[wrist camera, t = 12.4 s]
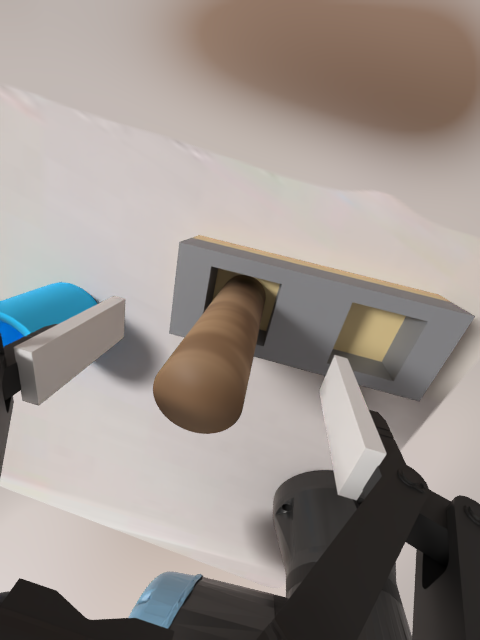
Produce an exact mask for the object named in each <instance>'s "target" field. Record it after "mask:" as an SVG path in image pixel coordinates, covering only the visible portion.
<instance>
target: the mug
mask: <svg viewBox="0 0 480 640" xmlns="http://www.w3.org/2000/svg"><path fill="white" fill-rule="evenodd" d="M95 305H97V302H96V301H95V300H94V299H93V297H92V296H91V295H89V294H88V293H87V292H86V291H84V290H83V289H82V288H80V287H78V286H75V285H73V284H70V283H63V282H59V283H54V284H50V285H47V286H44V287H41V288H38V289H35V290H32V291H29V292H26V293H23V294H20V295H17V296H15V297H12V298H9V299H6V300H3V301H0V333H1V337H2V342H3V347H4V346H6V345H8V344H10V343H12V342H14V341H16V340H18V339H20V338H22V337H24V336H27V335H28V334H30V333H32V332H35V331H36V330H38V329H41V328H43V327H45V326H49V325H53V324H60V323H62V322H64V321H66V320H68V319H69V318H71V317H73V316H75V315H77V314H79V313H81V312H83V311H85V310H87V309H89V308H91V307H93V306H95Z"/></svg>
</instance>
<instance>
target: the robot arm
mask: <svg viewBox="0 0 480 640" xmlns="http://www.w3.org/2000/svg"><path fill="white" fill-rule="evenodd" d="M124 323H125V299H124V298H120V297H116V296H112V297H110V298H109V299H107V300H105V301H103V302H101V303H99V304H97V305H95V306H93V307H91V308H89V309H87V310H85V311H83V312H81V313H79V314H77V315H75V316H73V317H71V318H69V319H68V320H66V321H64V322H62V323H60V324H53V325H49V326H45V327H43V328H41V329H38V330H36V331H35V332H32V333H30V334H28V335H27V336H24V337H22V338H20V339H18V340H16V341H14V342H12V343H10V344H8V345H6V346H4V347H3V342H2V337H1V333H0V476H1V471H2V465H3V459H4V454H5V448H6V443H7V437H8V431H9V426H10V420H11V414H12V409H13V403H14V401H13V395H14V394H16V393H17V392H19V391H20V390H21V394H22V400H23V401H25V402H29V403H32V404H35V405H40V404H41V403H43V402H44V401H45V400H46V399H48V398H49V397H50V396H51V395H53V394H54V393H55V392H56V391H58V390H59V389H60V388H61V387H63V386H64V385H65V384H66V383H68V382H69V381H70V380H71V379H73V378H74V377H75V376H76V375H78V374H79V373H80V372H81V371H83V370H84V369H85V368H86V367H88V366H89V365H90V364H91V363H93V362H94V361H95V360H96V359H98V358H99V357H100V356H101V355H103V354H104V353H105V352H106V351H108V350H109V349H110V348H111V347H113V346H114V345H115V344H116V343H118V342H119V341H120V340H121V339H123V338H124ZM319 394H320V399H321V405H322V410H323V416H324V421H325V427H326V432H327V438H328V443H329V449H330V454H331V460H332V465H333V471H313V472H307V473H303V474H300V475H297V476H294V477H292V478H290V479H289V480H287V481H286V482H284V483H283V484H282V485H281V486H280V487H279V488H278V490H277V491H276V493H275V496H274V501H273V522H274V527H275V531H276V535H277V539H278V543H279V547H280V551H281V555H282V559H283V563H284V567H285V572H286V597H282V596H278V595H274V594H271V593H266V592H262V591H258V590H254V589H250V588H246V587H242V586H238V585H234V584H229V583H225V582H221V581H217V580H213V579H208V578H205V577H203V575H201V574H197V575H196V576H193V575H188V574H183V573H177V572H165V573H162V574H160V575H159V576H157V577H156V578H155V579H154V580H153V581H152V582H151V583H150V584H149V585H148V587H147V588H146V589H145V591H144V592H143V593H142V595H141V597H140V598H139V600H138V601H137V603H136V605H135V607H134V608H133V610H132V612H131V614H130V616H129V618H121V619H102V620H89V619H87V618H85V617H84V616H83V615H82V614H81V613H80V612H78V611H77V609H75V608H74V607H73V606H72V605H71V604H70V603H69V602H68V601H67V600H66V599H65V598H64V597H63V596H62V595H61V594H59V593H58V592H57V591H56V590H53V589H50V588H47V587H44V586H41V585H38V584H35V583H32V582H29V581H26V580H23V579H19V580H18V581H17V582H16V584H15V585H14V587H13V588H12V589H11V591H10V592H3V593H0V640H480V504H479V503H477V502H476V501H474V500H472V499H470V498H468V497H465V496H457V497H455V498H454V499H453V500H452V501H449V500H447V499H445V498H443V497H441V496H440V495H438V494H436V493H434V492H432V491H431V490H429V489H428V486H427V484H426V482H425V481H424V479H423V478H422V477H421V475H419V474H418V473H417V472H416V471H415V470H414V469H412V468H411V467H409V466H407V465H406V463H405V461H404V459H403V457H402V454H401V452H400V450H399V448H398V446H397V444H396V442H395V440H394V439H393V438H394V437H393V435H392V433H391V432H390V429H389V427H388V425H387V423H386V421H385V420H384V419H383V417H382V416H381V415H380V414H379V413H378V412H375V411H371V410H368V407H367V405H366V402H365V400H364V397H363V395H362V393H361V390H360V388H359V385H358V383H357V380H356V378H355V375H354V373H353V371H352V368H351V366H350V363H349V361H348V358H344V357H340V356H337V355H334V358H333V360H332V362H331V365H330V367H329V369H328V372H327V374H326V376H325V379H324V381H323V383H322V386H321V388H320V390H319ZM405 542H407V543H408V544H410V545H411V546H413V547H415V548H416V549H417V553H416V574H415V593H414V613H413V634H412V636H411V632H410V629H409V626H408V622H407V619H406V615H405V612H404V609H403V606H402V602H401V599H400V595H399V591H398V588H397V584H396V563H395V562H396V560H397V558H398V556H399V554H400V552H401V549H402V548H403V545H404V544H405Z"/></svg>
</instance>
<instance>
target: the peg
mask: <svg viewBox="0 0 480 640" xmlns="http://www.w3.org/2000/svg"><path fill="white" fill-rule="evenodd" d="M265 300H266V294H265V290H264V288H263V286H262V284H261V283H260V282H259V281H258V280H257V279H255V278H253V277H251V276H247V275H238V276H235V277H233V278H231V279H230V280H228V281H227V283H226V284H225V285H224V287H223V288H222V289H221V290H220V292H219V293H218V294H217V296H216V297H215V298H214V300H213V301H212V302H211V304H210V305H209V306H208V308H207V309H206V310H205V312H204V313H203V314H202V316H201V317H200V318H199V319H198V321H197V322H196V323H195V325H194V326H193V327H192V329H191V330H190V331H189V333H188V334H187V335H186V337H185V338H184V339H183V341H182V342H181V343H180V345H179V346H178V347H177V348H176V350H175V351H174V352H173V354H172V355H171V356H170V358H169V359H168V360H167V362H166V363H165V364H164V366H163V367H162V368H161V370H160V371H159V372H158V374H157V375H156V377H155V380H154V384H153V393H154V398H155V401H156V403H157V405H158V407H159V409H160V410H161V412H162V413H163V414H164V415H165V416H166V417H167V418H168V419H169V420H170V421H171V422H173V423H174V424H176V425H178V426H179V427H181V428H183V429H186V430H189V431H192V432H196V433H203V434H210V433H217V432H221V431H224V430H226V429H228V428H229V427H231V426H232V425H233V424H235V423H236V421H237V420H238V419H239V417H240V415H241V412H242V409H243V404H244V399H245V395H246V390H247V385H248V380H249V376H250V371H251V366H252V361H253V357H254V352H255V347H256V342H257V338H258V333H259V328H260V323H261V319H262V314H263V309H264V304H265Z"/></svg>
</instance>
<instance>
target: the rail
mask: <svg viewBox="0 0 480 640" xmlns="http://www.w3.org/2000/svg"><path fill="white" fill-rule="evenodd" d="M238 275H247V276H251V277H253V278H255V279H257V280H258V281H259V282H260V283H261V284H262V286H263V288H264V290H265V294H266V300H265V304H264V309H263V314H262V319H261V323H260V328H259V333H258V338H257V342H256V347H255V352H254V357H258V358H262V359H265V360H269V361H273V362H276V363H280V364H284V365H287V366H291V367H295V368H298V369H302V370H306V371H309V372H313V373H317V374H320V375H324V376H326V374H327V372H328V369H329V367H330V365H331V362H332V360H333V358H334V355H337V356H340V357H344V358H348V361H349V363H350V366H351V368H352V371H353V373H354V375H355V378H356V380H357V383H358V385H361V386H365V387H368V388H372V389H376V390H379V391H383V392H387V393H390V394H394V395H398V396H401V397H405V398H409V399H412V400H416V401H420V400H421V398H422V397H423V395H424V393H425V392H426V390H427V389H428V387H429V386H430V384H431V383H432V381H433V380H434V378H435V377H436V375H437V374H438V372H439V371H440V369H441V368H442V366H443V365H444V363H445V361H446V360H447V358H448V357H449V355H450V354H451V352H452V351H453V349H454V348H455V346H456V345H457V343H458V342H459V340H460V339H461V337H462V336H463V334H464V333H465V331H466V329H467V328H468V326H469V325H470V323H471V322H472V320H473V319H474V317H475V316H474V315H472V314H470V313H469V312H467V311H465V310H464V309H462V308H460V307H458V306H457V305H455V304H453V303H452V302H450V301H448V300H447V299H445V298H443V297H442V296H440V295H438V294H434V293H430V292H426V291H422V290H418V289H414V288H410V287H406V286H402V285H398V284H394V283H389V282H385V281H381V280H377V279H373V278H369V277H365V276H361V275H357V274H353V273H349V272H345V271H341V270H337V269H333V268H329V267H325V266H321V265H317V264H313V263H309V262H305V261H301V260H297V259H293V258H289V257H285V256H281V255H277V254H273V253H269V252H265V251H261V250H257V249H253V248H249V247H244V246H240V245H236V244H232V243H228V242H224V241H220V240H216V239H212V238H208V237H204V236H200V235H198V236H196V237H193V238H190V239H187V240H184V241H181V242H179V251H178V260H177V269H176V278H175V287H174V296H173V305H172V313H171V322H170V331H169V333H170V334H173V335H177V336H181V337H184V338H185V337H186V335H187V334H188V333H189V331H190V330H191V329H192V327H193V326H194V325H195V323H196V322H197V321H198V319H199V318H200V317H201V316H202V314H203V313H204V312H205V310H206V309H207V308H208V306H209V305H210V304H211V302H212V301H213V300H214V298H215V297H216V296H217V294H218V293H219V292H220V290H221V289H222V288H223V287H224V285H225V284H226V283H227V281H228V280H230V279H231V278H233V277H235V276H238Z"/></svg>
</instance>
